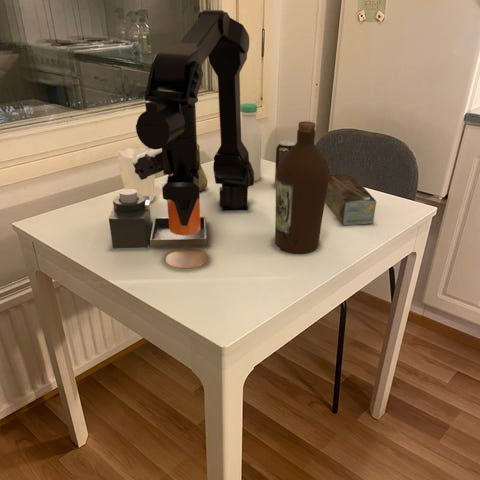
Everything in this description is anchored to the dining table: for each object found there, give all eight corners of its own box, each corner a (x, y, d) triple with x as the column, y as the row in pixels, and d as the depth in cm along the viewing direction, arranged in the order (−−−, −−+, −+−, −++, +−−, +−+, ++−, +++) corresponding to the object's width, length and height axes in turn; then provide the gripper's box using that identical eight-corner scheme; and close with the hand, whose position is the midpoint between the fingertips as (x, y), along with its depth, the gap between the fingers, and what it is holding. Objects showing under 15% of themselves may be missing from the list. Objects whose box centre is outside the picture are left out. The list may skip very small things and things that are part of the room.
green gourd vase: (194, 185, 135) (193, 141, 129) (211, 187, 134) (210, 142, 127) (186, 192, 131) (183, 146, 124) (202, 194, 130) (201, 148, 123)
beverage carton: (341, 226, 114) (344, 199, 110) (319, 197, 129) (322, 172, 126) (373, 224, 114) (378, 197, 111) (348, 196, 130) (352, 171, 126)
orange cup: (200, 222, 97) (199, 188, 93) (200, 235, 92) (199, 199, 88) (170, 222, 97) (167, 188, 93) (168, 235, 92) (166, 200, 88)
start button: (138, 197, 104) (137, 188, 103) (136, 204, 101) (135, 194, 100) (121, 198, 104) (120, 188, 103) (119, 204, 101) (118, 194, 100)
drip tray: (206, 224, 113) (206, 216, 112) (207, 247, 104) (206, 238, 102) (154, 225, 113) (153, 217, 111) (150, 248, 103) (149, 239, 102)
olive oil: (306, 231, 111) (318, 115, 97) (330, 251, 103) (346, 127, 89) (264, 238, 108) (269, 118, 93) (284, 258, 100) (294, 131, 85)
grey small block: (150, 208, 105) (149, 200, 104) (149, 213, 103) (148, 204, 102) (146, 208, 105) (146, 200, 104) (145, 213, 103) (144, 204, 102)
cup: (161, 194, 129) (158, 148, 122) (153, 206, 122) (149, 158, 115) (128, 192, 130) (123, 146, 123) (118, 205, 122) (112, 157, 116)
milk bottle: (263, 176, 143) (266, 103, 132) (255, 184, 137) (257, 108, 126) (238, 173, 145) (239, 100, 134) (229, 181, 139) (229, 106, 128)
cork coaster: (207, 250, 102) (207, 248, 102) (207, 270, 95) (207, 267, 95) (167, 251, 101) (166, 249, 101) (164, 270, 95) (164, 268, 94)
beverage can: (288, 181, 139) (291, 138, 132) (298, 188, 135) (302, 143, 128) (270, 184, 137) (273, 140, 130) (280, 191, 133) (283, 146, 126)
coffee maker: (151, 224, 113) (148, 188, 108) (146, 249, 102) (142, 210, 97) (121, 224, 112) (116, 189, 108) (113, 249, 102) (107, 211, 97)
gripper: (138, 122, 92) (146, 201, 100) (126, 149, 76) (137, 240, 85) (197, 121, 92) (200, 200, 101) (197, 149, 77) (201, 239, 86)
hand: (184, 218), depth 93 cm, fingers closed on orange cup, 6 cm apart
